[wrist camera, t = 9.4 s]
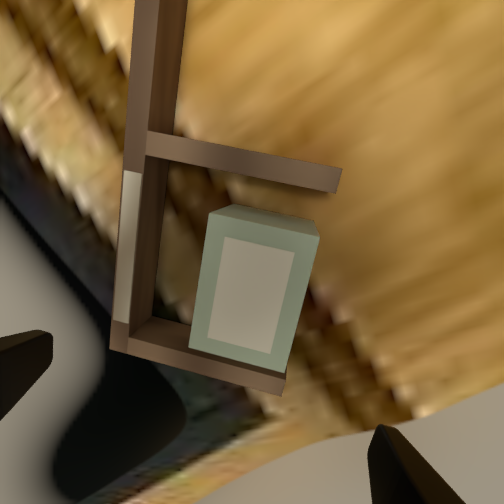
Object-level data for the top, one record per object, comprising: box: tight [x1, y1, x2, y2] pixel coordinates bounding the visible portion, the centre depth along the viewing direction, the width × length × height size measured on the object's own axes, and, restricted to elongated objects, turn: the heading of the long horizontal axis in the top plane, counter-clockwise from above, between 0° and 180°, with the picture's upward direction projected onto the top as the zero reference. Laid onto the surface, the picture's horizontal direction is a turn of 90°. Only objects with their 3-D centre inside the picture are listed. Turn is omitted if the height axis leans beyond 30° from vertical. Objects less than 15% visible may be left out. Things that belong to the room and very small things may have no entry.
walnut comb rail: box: [109, 0, 342, 397], centre depth 16 cm, size 11×26×3 cm, turn 169°
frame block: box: [188, 204, 320, 373], centre depth 16 cm, size 5×7×6 cm
